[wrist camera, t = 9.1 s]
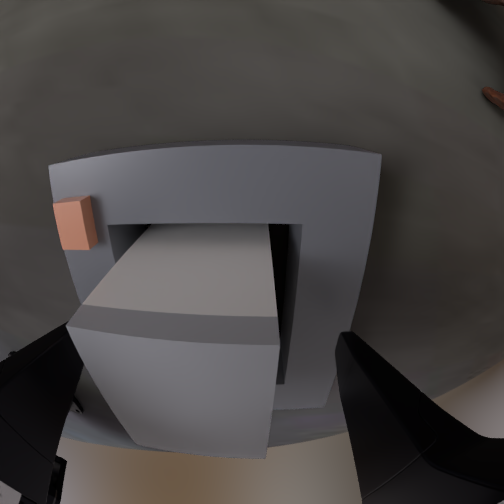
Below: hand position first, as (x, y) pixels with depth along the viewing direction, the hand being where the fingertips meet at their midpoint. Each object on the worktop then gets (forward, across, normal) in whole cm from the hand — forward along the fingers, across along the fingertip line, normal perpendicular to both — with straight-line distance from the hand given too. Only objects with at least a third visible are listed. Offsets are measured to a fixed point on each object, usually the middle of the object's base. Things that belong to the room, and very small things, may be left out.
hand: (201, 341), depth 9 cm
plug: (+4, 0, 0) cm, 4 cm away
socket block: (+4, 0, 0) cm, 4 cm away
